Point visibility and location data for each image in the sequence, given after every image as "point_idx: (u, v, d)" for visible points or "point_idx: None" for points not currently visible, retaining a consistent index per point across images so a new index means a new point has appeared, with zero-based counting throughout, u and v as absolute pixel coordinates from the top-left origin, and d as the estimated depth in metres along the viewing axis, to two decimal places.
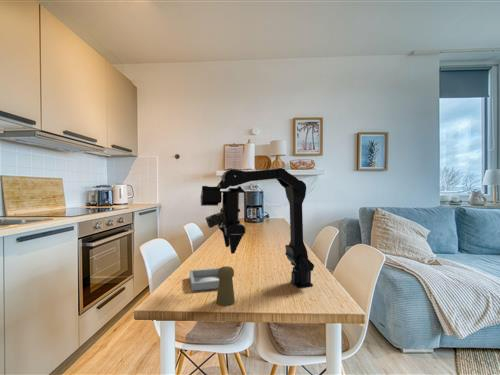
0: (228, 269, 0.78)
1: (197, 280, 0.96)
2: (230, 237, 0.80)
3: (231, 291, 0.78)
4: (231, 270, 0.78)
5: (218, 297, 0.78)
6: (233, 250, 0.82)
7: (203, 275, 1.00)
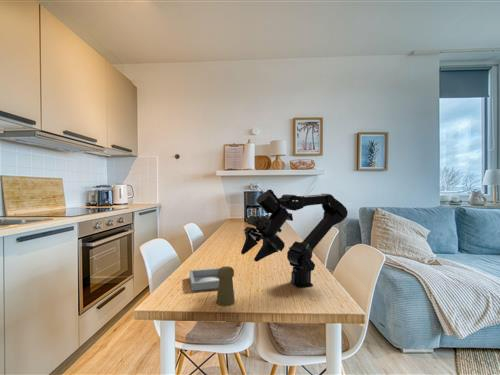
0: (228, 269, 0.78)
1: (197, 280, 0.96)
2: (266, 245, 0.79)
3: (231, 291, 0.78)
4: (231, 270, 0.78)
5: (218, 297, 0.78)
6: (258, 258, 0.80)
7: (203, 275, 1.00)
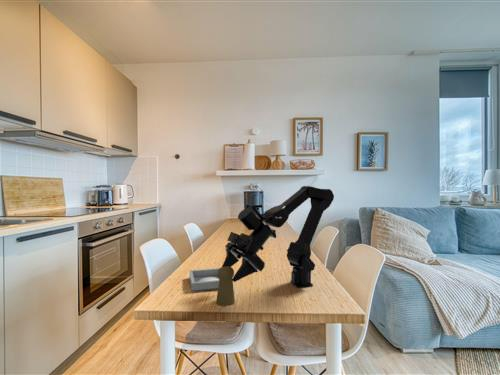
0: (228, 269, 0.78)
1: (197, 280, 0.96)
2: (245, 265, 0.76)
3: (231, 291, 0.78)
4: (231, 270, 0.78)
5: (218, 297, 0.78)
6: (236, 279, 0.76)
7: (203, 275, 1.00)
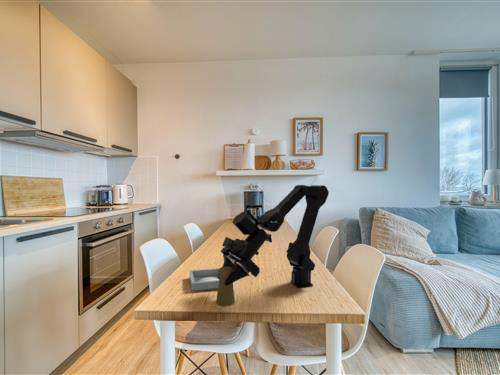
0: (228, 269, 0.78)
1: (197, 280, 0.96)
2: (237, 269, 0.76)
3: (231, 291, 0.78)
4: (231, 270, 0.78)
5: (218, 297, 0.78)
6: (228, 282, 0.77)
7: (203, 275, 1.00)
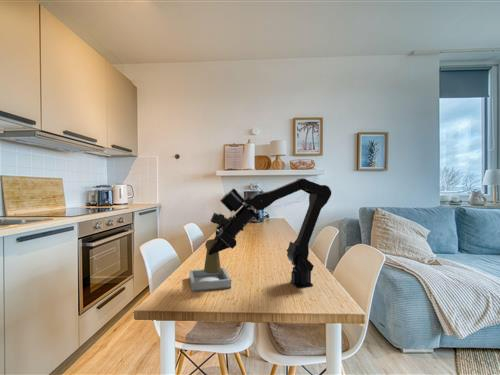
0: (213, 241, 0.87)
1: (197, 280, 0.96)
2: (218, 240, 0.84)
3: (215, 261, 0.86)
4: None
5: (205, 265, 0.88)
6: (212, 252, 0.86)
7: (203, 275, 1.00)
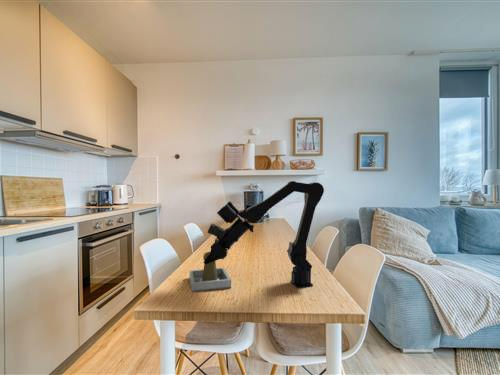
0: None
1: (197, 280, 0.96)
2: (212, 251, 0.89)
3: (211, 272, 0.93)
4: None
5: None
6: (206, 262, 0.91)
7: None
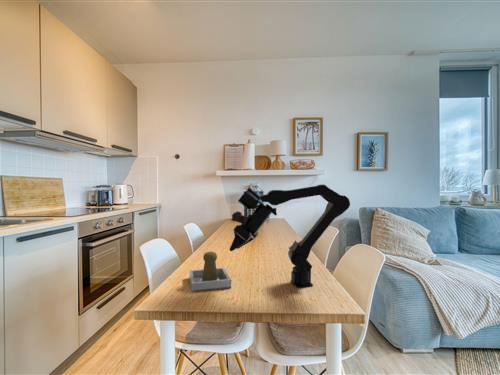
0: (209, 254, 0.93)
1: (197, 280, 0.96)
2: (236, 236, 0.89)
3: (211, 272, 0.93)
4: (212, 255, 0.93)
5: None
6: (232, 248, 0.90)
7: None
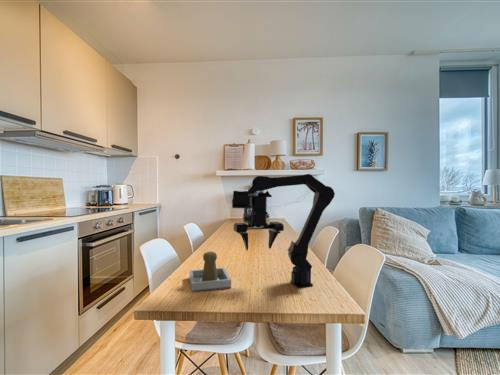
0: (209, 254, 0.93)
1: (197, 280, 0.96)
2: None
3: (211, 272, 0.93)
4: (211, 255, 0.93)
5: None
6: (246, 247, 0.94)
7: None
